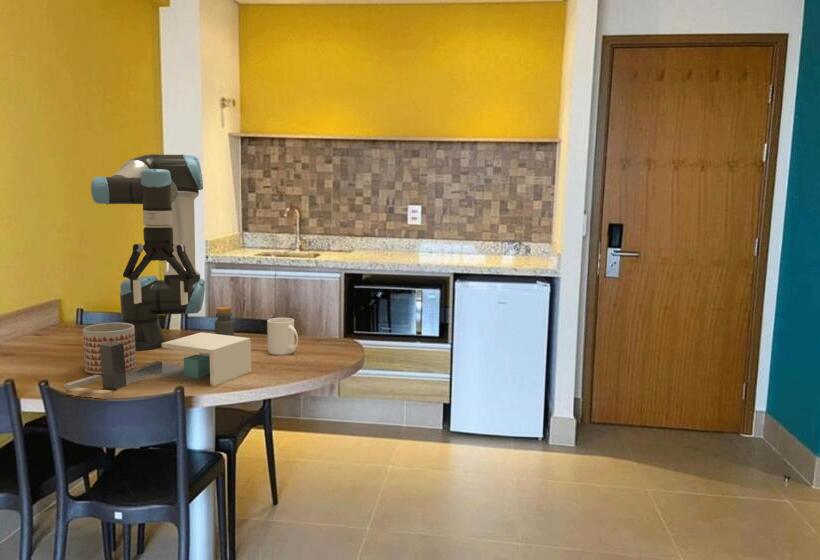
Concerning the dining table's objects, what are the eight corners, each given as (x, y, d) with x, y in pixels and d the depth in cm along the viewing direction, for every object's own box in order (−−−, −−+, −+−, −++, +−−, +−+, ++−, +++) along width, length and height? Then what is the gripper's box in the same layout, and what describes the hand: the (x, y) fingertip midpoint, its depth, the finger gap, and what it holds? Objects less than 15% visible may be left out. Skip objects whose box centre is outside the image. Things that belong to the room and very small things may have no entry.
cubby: (162, 378, 184) (161, 343, 183) (202, 365, 199) (201, 332, 197) (214, 387, 177) (212, 349, 176) (251, 372, 192) (250, 338, 190)
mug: (288, 358, 208) (287, 325, 207) (262, 352, 215) (261, 320, 214) (307, 353, 215) (307, 320, 214) (281, 347, 222) (281, 316, 221)
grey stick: (64, 389, 175) (64, 383, 174) (96, 380, 184) (96, 374, 184) (70, 390, 174) (69, 384, 174) (101, 381, 183) (101, 375, 183)
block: (184, 375, 186) (183, 358, 186) (196, 371, 191) (196, 354, 190) (198, 377, 184) (197, 360, 184) (210, 373, 189) (209, 356, 188)
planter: (103, 378, 184) (101, 333, 183) (75, 371, 192) (72, 328, 190) (146, 367, 196) (144, 325, 194) (117, 361, 203) (115, 320, 201)
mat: (133, 372, 190) (133, 371, 190) (162, 364, 200) (162, 362, 200) (193, 382, 181) (193, 381, 181) (220, 372, 191) (220, 371, 191)
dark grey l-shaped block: (103, 389, 174) (99, 344, 173) (154, 370, 191) (152, 330, 189) (114, 390, 173) (111, 346, 171) (165, 372, 189) (162, 331, 187)
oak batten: (66, 397, 169) (65, 389, 168) (73, 394, 171) (72, 386, 171) (106, 401, 166) (105, 393, 165) (112, 398, 168) (112, 390, 168)
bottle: (238, 352, 215) (236, 307, 213) (226, 356, 210) (224, 309, 208) (223, 350, 218) (222, 305, 216) (211, 354, 213) (210, 308, 211)
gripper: (107, 226, 177) (110, 304, 180) (195, 227, 174) (198, 306, 177) (122, 225, 185) (125, 300, 187) (207, 226, 182) (210, 302, 184)
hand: (161, 303), depth 182 cm, fingers open, 13 cm apart
